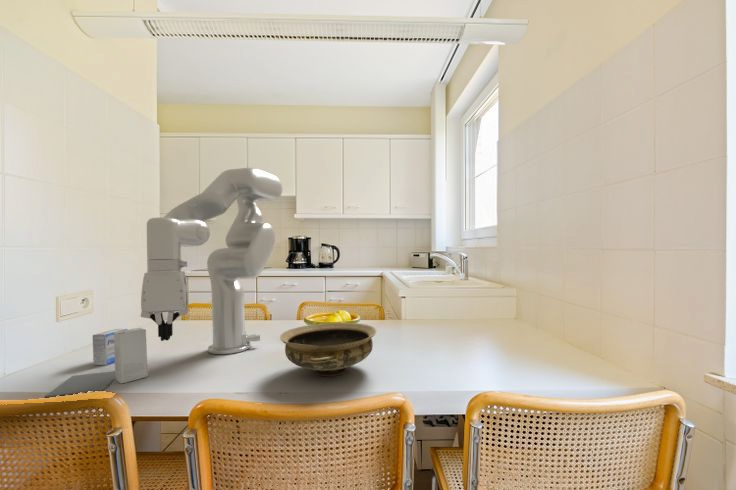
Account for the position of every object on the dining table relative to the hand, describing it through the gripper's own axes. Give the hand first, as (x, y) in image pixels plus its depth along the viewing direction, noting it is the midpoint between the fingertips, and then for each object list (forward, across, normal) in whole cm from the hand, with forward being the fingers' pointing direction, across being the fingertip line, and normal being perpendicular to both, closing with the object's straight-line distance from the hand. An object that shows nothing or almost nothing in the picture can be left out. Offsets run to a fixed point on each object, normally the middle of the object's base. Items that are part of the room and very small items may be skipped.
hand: (165, 339), depth 97 cm
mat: (+9, +17, -1) cm, 20 cm away
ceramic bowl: (+9, -39, +13) cm, 42 cm away
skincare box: (+9, +8, 0) cm, 12 cm away
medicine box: (+9, +18, -20) cm, 29 cm away
